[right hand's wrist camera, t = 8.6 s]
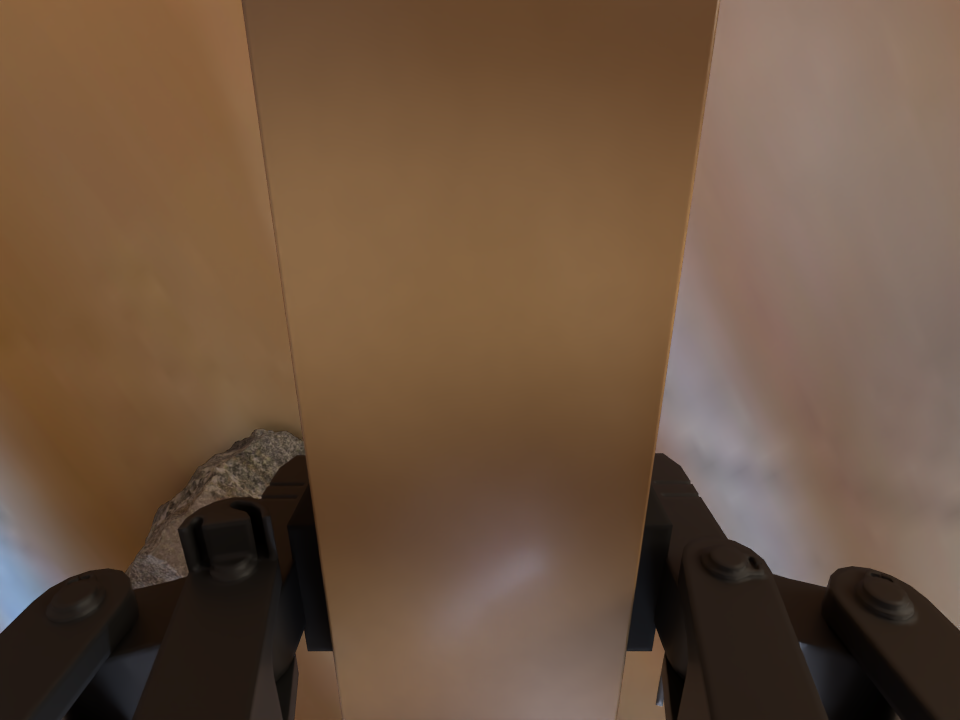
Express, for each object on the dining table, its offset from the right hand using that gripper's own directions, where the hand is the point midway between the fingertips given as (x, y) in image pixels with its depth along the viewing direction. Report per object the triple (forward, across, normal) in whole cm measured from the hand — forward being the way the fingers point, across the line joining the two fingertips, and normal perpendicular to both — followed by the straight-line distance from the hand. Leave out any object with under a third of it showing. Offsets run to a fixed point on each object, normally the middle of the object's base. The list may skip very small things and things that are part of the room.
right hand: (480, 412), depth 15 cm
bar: (+1, 0, -7) cm, 7 cm away
